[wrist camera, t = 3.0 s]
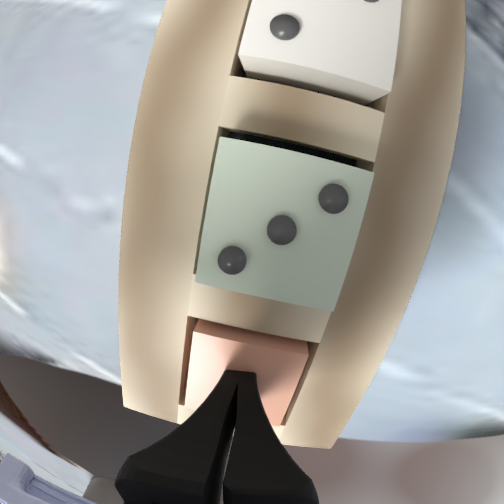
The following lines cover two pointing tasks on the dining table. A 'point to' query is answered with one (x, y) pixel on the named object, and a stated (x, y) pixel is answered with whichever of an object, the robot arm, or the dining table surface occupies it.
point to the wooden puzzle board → (300, 133)
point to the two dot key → (324, 45)
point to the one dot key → (245, 364)
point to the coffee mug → (103, 491)
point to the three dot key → (281, 223)
